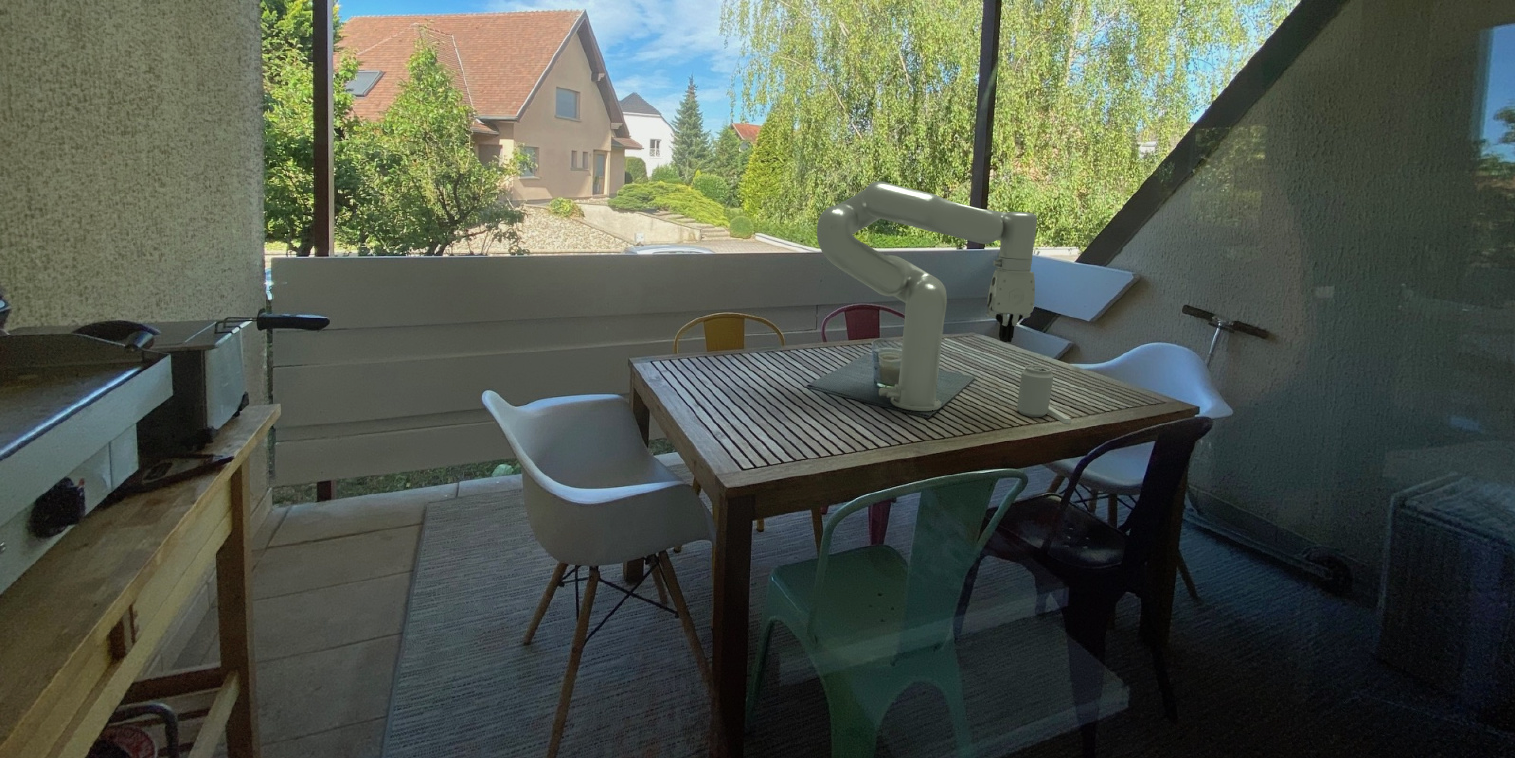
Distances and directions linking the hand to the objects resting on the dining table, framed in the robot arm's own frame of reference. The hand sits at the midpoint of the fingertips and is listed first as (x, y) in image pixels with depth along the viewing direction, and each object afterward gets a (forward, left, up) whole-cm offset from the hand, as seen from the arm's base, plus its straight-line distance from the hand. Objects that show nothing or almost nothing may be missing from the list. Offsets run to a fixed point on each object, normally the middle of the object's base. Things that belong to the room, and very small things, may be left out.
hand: (1005, 341), depth 187 cm
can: (+10, 0, -19) cm, 21 cm away
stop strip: (+15, +1, -19) cm, 24 cm away
